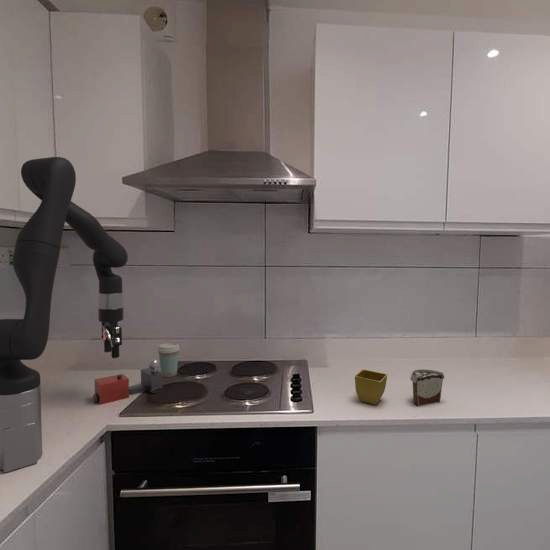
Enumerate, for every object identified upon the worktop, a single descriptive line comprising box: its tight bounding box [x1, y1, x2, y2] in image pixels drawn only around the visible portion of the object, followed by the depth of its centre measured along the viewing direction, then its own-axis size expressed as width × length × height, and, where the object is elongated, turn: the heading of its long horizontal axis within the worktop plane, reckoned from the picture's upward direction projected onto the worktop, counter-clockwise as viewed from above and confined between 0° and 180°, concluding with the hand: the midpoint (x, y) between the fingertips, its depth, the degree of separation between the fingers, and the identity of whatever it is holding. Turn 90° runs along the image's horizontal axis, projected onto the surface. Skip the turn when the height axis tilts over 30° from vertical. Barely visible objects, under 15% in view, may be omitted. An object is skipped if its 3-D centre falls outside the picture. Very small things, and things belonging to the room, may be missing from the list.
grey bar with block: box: [92, 358, 164, 404], centre depth 123 cm, size 10×22×11 cm, turn 130°
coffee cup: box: [157, 342, 181, 378], centre depth 143 cm, size 8×8×12 cm
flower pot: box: [354, 369, 388, 405], centre depth 120 cm, size 9×9×9 cm
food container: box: [410, 369, 445, 407], centre depth 121 cm, size 12×6×10 cm, turn 111°
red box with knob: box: [94, 373, 130, 406], centre depth 120 cm, size 6×9×7 cm
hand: (111, 354), depth 119 cm, fingers open, 8 cm apart
